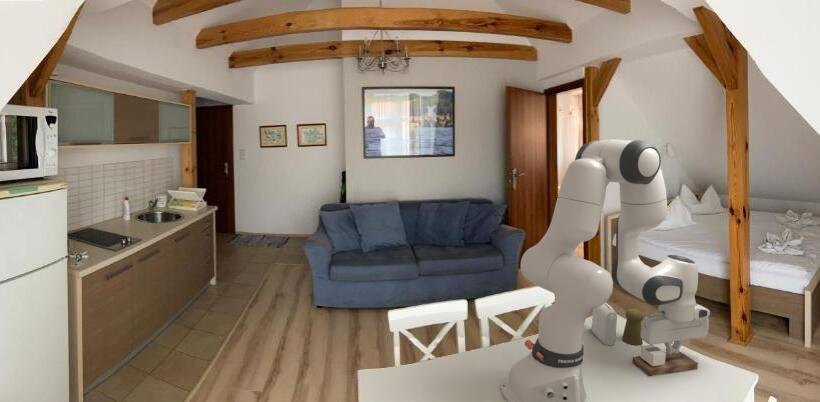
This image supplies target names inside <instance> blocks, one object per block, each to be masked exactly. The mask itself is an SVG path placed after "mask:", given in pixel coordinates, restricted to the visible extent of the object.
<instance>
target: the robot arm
mask: <svg viewBox="0 0 820 402" xmlns="http://www.w3.org/2000/svg"><path fill="white" fill-rule="evenodd" d="M661 161H662V158H661V155H660V153H659V151H658V148H657V147H656V146H655V145H654V143H652V142H649V141H645V140H640V139H639V140H638V139H637V140H628V139H618V138H616V139H615V138H613V139H611V138H610V139H603V140H597V139H596V140H592V141H589V142H586V143H584V144H582V146H581V147H580V148H579V149H578V151H577V153H576V155H575V158H574V160H572V161H571V162H570V163H569V165H568V166H567V168H566V171H565V173H564V176H563V179H562V181H561V184H560V186H559V190H558V194H557V198H556V199H557V200H556V202H555V206H554V211H553V213H552V218H551V222H550V224H549V227H548V228H547V231H546V233H545V234H544V235H543V237H542V238H541V239H540V240H539V242H538V243H536V244H535V245H534V246H531V247H529V248H528V249H527V250H525V252H524V253H523V255H522V257H521V260H520V271H521V273H522V275H523V276H524V277H525V278H526V279H527V280H528V281H529V282H530V283H532V284H534V285H535V286H537V287H539V288H542V289H543V290H546V291H548V292H550V293H551V294H554V298H555V299H554V304H552V305H547V306H546V307H544V309H542V311H540V313H539V316H538V335H537V336H538V337H537V338H536V341H535V342H534V343H533V342H532V341H531V340H530V339H526V340H525V341H524V346H525V347H526V348H527V350H530V351H531V352H528V354H526V355H525V356H524V357H522V358H521V359H520V360H519V361H517V362H516V363H514V364H513V365H512V366H511V368H510V370H509V374H508V376H507V377H505V378H502V379H501V380H500V384H499V389H500V393H501V394H502V396H503V398H504V399H505V401H506V402H585V401H586V399H587V393H586V391H585V385H584V379H583V367H582V366H583V362H584V354H585V352H584V350H585V348H584V345H583V340H584V338H583V337H584V329H585V323H586V319H587V317H588V315H589V314H590V313H591V311H593V309H594V308H596V307H599V306H601V305H603V304H604V303H607V302H608V300H609V299H610V298H611V295H612V293H613V290H614V285H615V286H617V287H618V288H619V290H620V289H621V290H623V291H625V292H627V293H629V294H630V295H633V296H634V297H636V298H637V299H640V300H642V301H643V302H645V303H646V304H648V305H651V306H655V307H656V306H658V311H655V312H649V313H648V314H647V315H646V316H645V317H643V320H642V324H641V328H642V329H641V335H640V337H641V339H642V342H644V343H646V344H648V345H654V346H655V345H659V344H660V345H661V344H664V345H665V352H667V353H668V354H675V353H679V351H680V348H681V347H682V345H683V344H684V341H686V340H687V341H688V340H694V339H700V338H705V337H707V335H708V333H709V328H710V327H709V326H710V319H709V316H710V315H711V311H710V310H709V309H708V308H707V307H704V306H703V305H700V304H699V303H696V302H697V301H696V297H695V296H696V293H697V290H698V286H699V285H698V284H699V269H698V265H697V262H695V261H694V260H692V259H690V258H688V257H685V256H681V255H677V254H668V255H666V256H665V258H664V260H663V261H662V262H660V263H659V264H657V265H655V266H652V267H651V266H649V265H647V264H645V263H644V262H643V261H642V260H641V258H640V256H639V248H640V247H639V246H640V235H641V232H644V231H649V230H652V229H655V228H657V227H659V226H661V224H662V223H663V222H664V221H665V220H666V219H667V214H668V199H667V189H666V183H665V179H664V176H663V175H664V174H663V172H662V171H663V170H662V169H661V164H662V162H661ZM610 183H617V184H619V201H620V202H619V204H620V213H619V215H618V217H617V221H616V227H615V228H616V231H615V260H614V264H613V267H612V273H610V272H609V271H608V270H607V269H605V268H603V267H602V266H600V265H598V264H597V263H595V262H593V261H590V260H587V259H584V258H582V257H579V256H577V255H574V254H575V252H576V249H577V247H578V246H579V245H580V244H582V243H585V242H587V241H590V240H591V239H593V238H594V237H595V236H596V235H597V233H598V230H599V225H600V221H601V217H602V213H603V208H604V203H605V198H606V193H607V187H608V186H609V184H610ZM611 274H612V275H611Z"/></svg>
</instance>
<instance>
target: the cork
mask: <svg viewBox="0 0 820 402" xmlns="http://www.w3.org/2000/svg"><path fill="white" fill-rule="evenodd" d="M625 318H626V321H625V322H626V323H625V325H624V330H623V334H622V338H621V339H622V342H623V343H625V344H626V345H630V346H634V347H641V346H643V342H644V341H643V340H642V339H641V337H640V335H641V329H642V322H643V321H644V313H643V312H642V310H640V309H637V308H628V309H626V311H625Z"/></svg>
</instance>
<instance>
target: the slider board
mask: <svg viewBox="0 0 820 402" xmlns="http://www.w3.org/2000/svg"><path fill="white" fill-rule="evenodd" d="M663 352H664V351H663ZM664 353H666V357H665V364H664V365H658V366H652V365H650V364H649V363H648V362H646V361H645V360H644V359H642V358H641V357H640V355H636V356H632V364H633V365H634V366H635V367H637V368H638V369H639V370H641V371H642V372H643V373H644V374H646V375H647V376H649V377H656V376H661V375H663V376H664V375H667V374H674V373H681V372H688V371H694V370H695V371H696V370H698V365H699V363H698V362H697V361H695V360H694V359H692V358H691V357H689V356H688V355H686V354H684V353H683V352H681V351H680V350H679V353H675V354H668V353H667V352H666V351H665V352H664Z"/></svg>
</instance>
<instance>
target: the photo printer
mask: <svg viewBox="0 0 820 402" xmlns="http://www.w3.org/2000/svg"><path fill="white" fill-rule="evenodd" d="M591 320H592V321H591V322H592V323H591V331H592V333H593V334H594V336H595V337H596V338H597V339H598V340H600V341H601V342H602V343H603V344H604V345H605V346H615V344H616V339H617V324H618V323H617V321H618V316H617V313H616V311H615V310H614V308H613V307H612V306H611V305H609V304H608V303H607V302H605V303H604V304H603V305H601V306H599V307H596V308H594V309H592V319H591Z"/></svg>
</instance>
